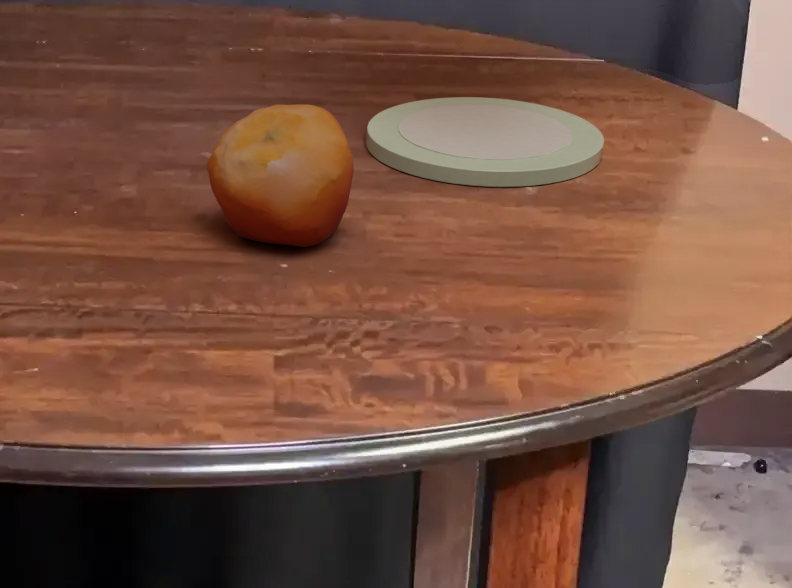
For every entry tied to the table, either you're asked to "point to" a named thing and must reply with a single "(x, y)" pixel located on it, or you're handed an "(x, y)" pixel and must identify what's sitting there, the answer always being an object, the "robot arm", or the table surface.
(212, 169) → the fruit
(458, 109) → the plate
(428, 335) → the table surface
